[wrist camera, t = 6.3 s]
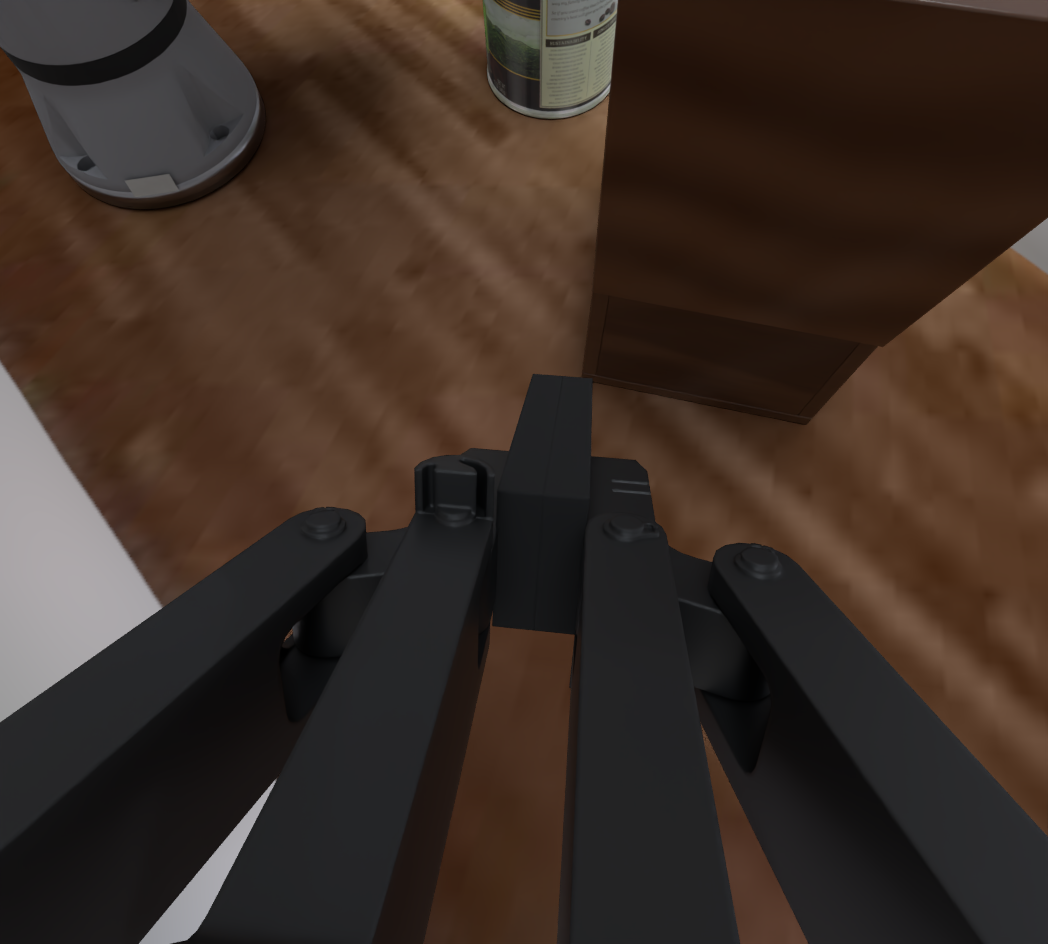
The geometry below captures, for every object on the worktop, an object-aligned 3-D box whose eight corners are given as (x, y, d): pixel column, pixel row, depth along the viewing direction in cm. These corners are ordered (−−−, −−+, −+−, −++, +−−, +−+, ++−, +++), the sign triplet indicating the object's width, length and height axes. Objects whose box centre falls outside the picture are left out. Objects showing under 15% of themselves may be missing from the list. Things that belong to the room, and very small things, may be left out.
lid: (627, -67, 16) (620, -39, 16) (1267, 18, 15) (1265, 48, 14) (594, 278, 33) (591, 293, 33) (885, 332, 32) (883, 347, 32)
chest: (627, 180, 48) (648, 60, 39) (827, 214, 47) (894, 97, 38) (581, 379, 42) (592, 291, 34) (806, 425, 41) (879, 345, 32)
